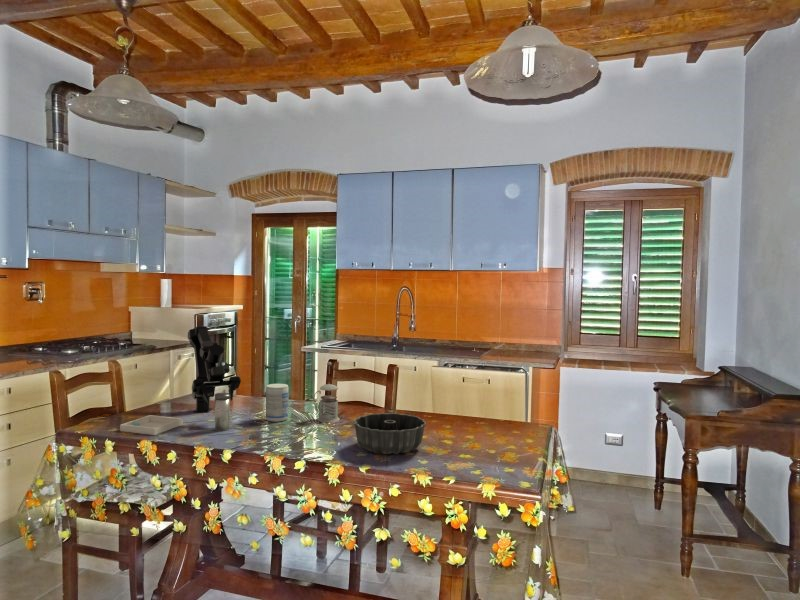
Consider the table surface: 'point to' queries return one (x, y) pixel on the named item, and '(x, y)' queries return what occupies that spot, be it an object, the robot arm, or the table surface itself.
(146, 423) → the tray
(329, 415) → the french press
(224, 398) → the shaker
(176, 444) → the table surface
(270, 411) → the supplement tub
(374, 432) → the bundt pan
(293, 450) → the table surface
